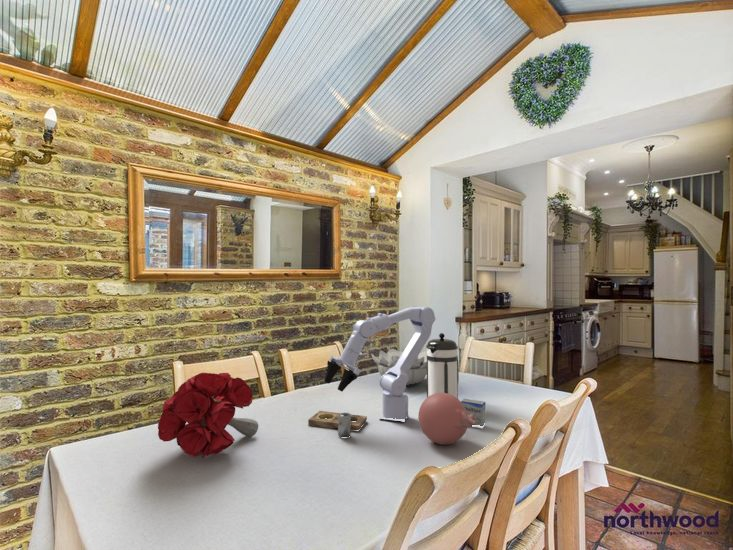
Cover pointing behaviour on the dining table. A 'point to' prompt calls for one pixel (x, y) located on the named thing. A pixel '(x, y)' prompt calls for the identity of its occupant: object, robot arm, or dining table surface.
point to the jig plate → (335, 420)
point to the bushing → (344, 424)
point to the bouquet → (206, 413)
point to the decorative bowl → (390, 360)
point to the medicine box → (475, 410)
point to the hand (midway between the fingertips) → (333, 386)
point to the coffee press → (442, 367)
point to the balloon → (444, 418)
